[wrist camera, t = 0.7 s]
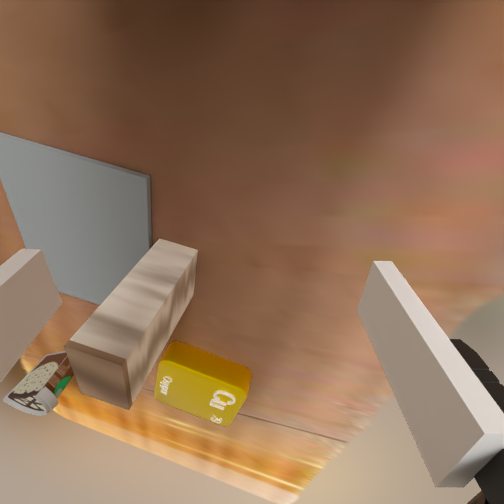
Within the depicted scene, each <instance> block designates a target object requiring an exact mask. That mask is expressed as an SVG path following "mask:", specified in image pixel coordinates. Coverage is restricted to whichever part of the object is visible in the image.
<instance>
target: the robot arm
mask: <svg viewBox="0 0 504 504" xmlns="http://www.w3.org/2000/svg"><path fill="white" fill-rule="evenodd" d="M61 304H62V300H61V298H60V295H59V292H58V290H57V287H56V285H55V282H54V280H53V277H52V275H51V272H50V270H49V267H48V264H47V262H46V259H45V257H44V254H43V252H42V250H41V249H21V250H19V251H18V252H17V253H16V254H14V255H13V256H12V257H11V258H9V259H8V260H7V261H6V262H5V263H3V264H2V265H1V266H0V382H1V381H2V379H3V378H4V377H5V376H6V375H7V373H8V372H9V371H10V369H11V368H12V367H13V366H14V364H15V363H16V362H17V360H18V359H19V358H20V357H21V355H22V354H23V353H24V352H25V350H26V349H27V348H28V346H29V345H30V344H31V343H32V341H33V340H34V339H35V337H36V336H37V335H38V334H39V332H40V331H41V330H42V328H43V327H44V326H45V325H46V323H47V322H48V321H49V319H50V318H51V317H52V316H53V314H54V313H55V312H56V310H57V309H58V308H59V307H60V305H61ZM357 312H358V314H359V316H360V319H361V321H362V323H363V325H364V328H365V330H366V332H367V334H368V337H369V339H370V341H371V343H372V346H373V348H374V350H375V352H376V355H377V357H378V359H379V361H380V364H381V366H382V368H383V370H384V373H385V375H386V377H387V379H388V381H389V384H390V386H391V388H392V390H393V393H394V395H395V397H396V399H397V401H398V403H399V406H400V408H401V411H402V413H403V415H404V417H405V419H406V422H407V424H408V426H409V429H410V431H411V433H412V435H413V437H414V440H415V442H416V444H417V446H418V449H419V451H420V453H421V455H422V458H423V460H424V462H425V464H426V467H427V469H428V471H429V473H430V475H431V477H432V480H433V482H434V485H435V487H465V485H466V484H468V483H469V482H470V481H471V480H472V479H473V478H474V477H475V479H476V481H477V483H478V485H479V487H480V488H481V490H482V491H481V492H480V493H478V494H477V495H476V496H475V497H474V498H473V499H472V500H471V501H469V502H468V503H467V504H504V386H503V385H502V384H500V383H499V380H498V379H497V377H496V376H495V375H494V374H493V372H492V371H489V367H488V366H487V365H486V364H485V362H484V361H483V360H482V359H481V357H480V356H479V355H478V354H477V352H475V351H474V350H473V349H471V348H470V347H469V346H468V345H466V344H465V343H464V342H463V341H461V340H460V339H449V338H448V337H447V336H446V334H445V333H444V332H443V330H442V329H441V328H440V326H439V325H438V323H437V322H436V321H435V319H434V318H433V317H432V315H431V314H430V313H429V311H428V310H427V309H426V307H425V306H424V304H423V303H422V302H421V300H420V299H419V298H418V296H417V295H416V294H415V292H414V291H413V290H412V288H411V287H410V285H409V284H408V283H407V281H406V280H405V279H404V277H403V276H402V275H401V273H400V272H399V271H398V269H397V268H396V266H395V265H394V264H393V262H392V261H373V263H372V266H371V269H370V272H369V275H368V279H367V282H366V285H365V288H364V291H363V294H362V297H361V300H360V303H359V306H358V309H357Z"/></svg>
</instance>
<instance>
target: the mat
mask: <svg viewBox="0 0 504 504" xmlns="http://www.w3.org/2000/svg"><path fill="white" fill-rule="evenodd" d="M0 179H1V181H2V184H3V187H4V190H5V192H6V195H7V198H8V200H9V203H10V206H11V209H12V211H13V214H14V217H15V219H16V222H17V225H18V228H19V230H20V233H21V236H22V239H23V241H24V244H25V247H26V249H41V250H42V252H43V254H44V257H45V259H46V262H47V264H48V267H49V270H50V272H51V275H52V277H53V280H54V282H55V285H56V287H57V290H58V292H61V293H64V294H67V295H70V296H73V297H77V298H80V299H83V300H86V301H89V302H92V303H95V304H98V305H101V304H102V303H103V301H104V300H105V299H106V298H107V297H108V296H109V295H110V294H111V292H112V291H113V290H114V289H115V288H116V287H117V286H118V285H119V283H120V282H121V281H122V280H123V279H124V278H125V277H126V276H127V274H128V273H129V272H130V271H131V270H132V269H133V268H134V267H135V265H136V264H137V263H138V262H139V261H140V260H141V259H142V258H143V256H144V255H145V254H146V253H147V252H148V251H149V250H150V249H151V247H152V224H151V187H150V176H149V175H146V174H143V173H139V172H136V171H132V170H129V169H125V168H122V167H118V166H115V165H112V164H108V163H105V162H101V161H98V160H94V159H91V158H87V157H84V156H81V155H77V154H74V153H70V152H67V151H63V150H60V149H56V148H53V147H50V146H46V145H43V144H39V143H36V142H32V141H29V140H25V139H22V138H19V137H15V136H12V135H8V134H5V133H1V132H0Z"/></svg>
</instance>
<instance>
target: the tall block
mask: <svg viewBox="0 0 504 504" xmlns="http://www.w3.org/2000/svg"><path fill="white" fill-rule="evenodd" d="M197 256H198V250H196V249H193V248H190V247H187V246H183V245H180V244H177V243H173V242H170V241H167V240H164V239H160V238H159V239H158V241H157V242H156V243H155V244H154V245H153V246H152V247H151V249H150V250H149V251H148V252H147V253H146V254H145V255H144V256H143V258H142V259H141V260H140V261H139V262H138V263H137V264H136V265H135V267H134V268H133V269H132V270H131V271H130V272H129V273H128V274H127V276H126V277H125V278H124V279H123V280H122V281H121V282H120V283H119V285H118V286H117V287H116V288H115V289H114V290H113V291H112V292H111V294H110V295H109V296H108V297H107V298H106V299H105V300H104V301H103V303H102V304H101V305H100V306H99V307H98V308H97V309H96V310H95V312H94V313H93V314H92V315H91V316H90V317H89V318H88V319H87V321H86V322H85V323H84V324H83V325H82V326H81V327H80V329H79V330H78V331H77V332H76V333H75V334H74V335H73V336H72V338H71V339H70V340H69V341H68V342H67V343H66V344H65V345H64V347H65V350H66V353H67V356H68V358H69V361H70V364H71V367H72V370H73V372H74V375H75V378H76V381H77V384H78V386H79V389H80V392H81V393H82V394H84V395H87V396H90V397H93V398H96V399H99V400H102V401H104V402H107V403H110V404H113V405H116V406H119V407H121V408H124V409H127V410H129V409H130V408H131V406H132V404H133V402H134V400H135V399H136V397H137V395H138V393H139V391H140V390H141V388H142V386H143V384H144V383H145V381H146V379H147V377H148V375H149V374H150V372H151V370H152V368H153V366H154V365H155V363H156V361H157V359H158V358H159V356H160V354H161V352H162V350H163V349H164V347H165V345H166V343H167V341H168V340H169V338H170V336H171V334H172V333H173V331H174V329H175V327H176V325H177V324H178V322H179V320H180V318H181V316H182V315H183V313H184V311H185V309H186V308H187V306H188V304H189V302H190V300H191V299H192V297H193V295H194V286H195V276H196V266H197Z"/></svg>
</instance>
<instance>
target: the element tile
mask: <svg viewBox="0 0 504 504" xmlns="http://www.w3.org/2000/svg"><path fill="white" fill-rule="evenodd" d="M251 379H252V372H251V371H250V370H249V369H248V368H246V367H244V366H242V365H239V364H236V363H234V362H231V361H229V360H226V359H224V358H221V357H218V356H216V355H213V354H211V353H208V352H206V351H203V350H200V349H198V348H195V347H193V346H190V345H188V344H185V343H183V342H179V341H172V342H171V343H170V344H169V345H168V347H167V349H166V351H165V353H164V355H163V356H162V358H161V360H160V362H159V364H158V371H157V377H156V383H155V389H154V396H155V398H156V400H158V401H160V402H162V403H164V404H167V405H170V406H172V407H175V408H177V409H180V410H182V411H185V412H187V413H190V414H192V415H195V416H197V417H200V418H203V419H205V420H208V421H210V422H213V423H215V424H218V425H221V426H224V427H225V426H228V425H230V424H231V423H232V421H233V419H234V418H235V416H236V415H237V413H238V411H239V410H240V408H241V406H242V405H243V403H244V402H245V400H246V398H247V395H248V391H249V387H250V383H251Z"/></svg>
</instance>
